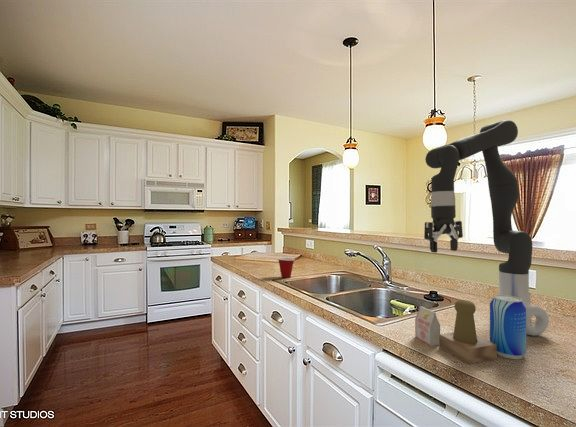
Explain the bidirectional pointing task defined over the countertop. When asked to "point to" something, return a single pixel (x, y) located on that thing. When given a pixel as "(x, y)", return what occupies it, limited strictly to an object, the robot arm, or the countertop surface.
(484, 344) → the walnut base
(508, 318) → the beer can
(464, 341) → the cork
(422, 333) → the white tall box
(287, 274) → the plastic cup
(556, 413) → the countertop surface
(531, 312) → the donut
